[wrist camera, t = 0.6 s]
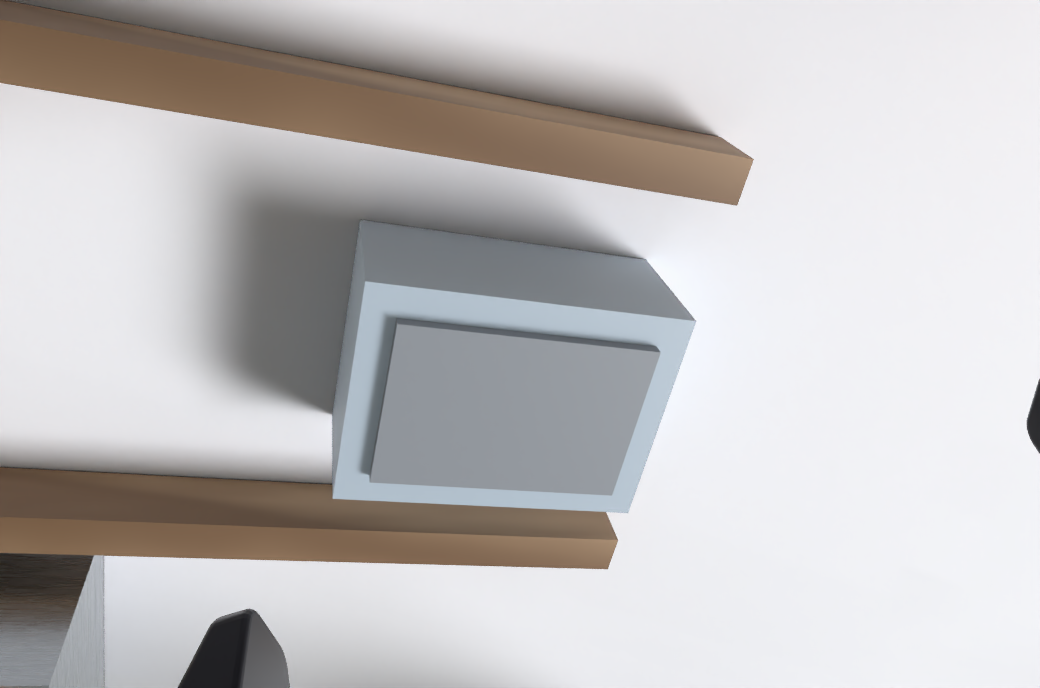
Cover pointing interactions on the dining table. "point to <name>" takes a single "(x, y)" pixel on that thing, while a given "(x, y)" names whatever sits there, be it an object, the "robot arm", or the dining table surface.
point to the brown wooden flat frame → (353, 117)
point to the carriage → (500, 372)
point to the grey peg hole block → (51, 621)
